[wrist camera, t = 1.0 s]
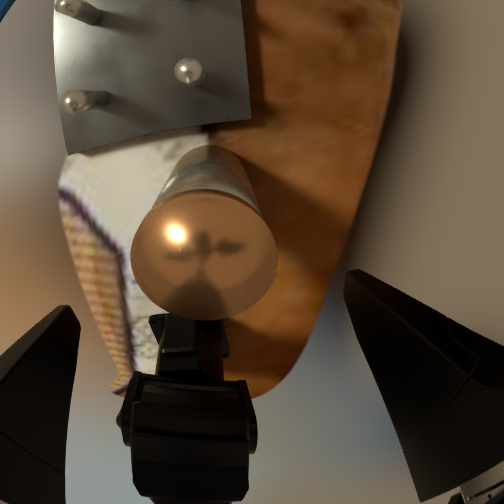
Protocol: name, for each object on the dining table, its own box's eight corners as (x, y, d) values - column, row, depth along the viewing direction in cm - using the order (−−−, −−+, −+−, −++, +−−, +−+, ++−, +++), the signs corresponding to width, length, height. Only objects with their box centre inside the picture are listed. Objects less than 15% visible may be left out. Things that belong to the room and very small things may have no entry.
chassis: (249, 117, 16) (261, 124, 12) (75, 151, 16) (36, 173, 11) (234, -40, 10) (241, -78, 6) (62, 3, 9) (23, -13, 5)
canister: (251, 212, 20) (279, 311, 11) (178, 222, 19) (153, 326, 11) (244, 139, 17) (274, 185, 8) (164, 150, 17) (112, 208, 8)
